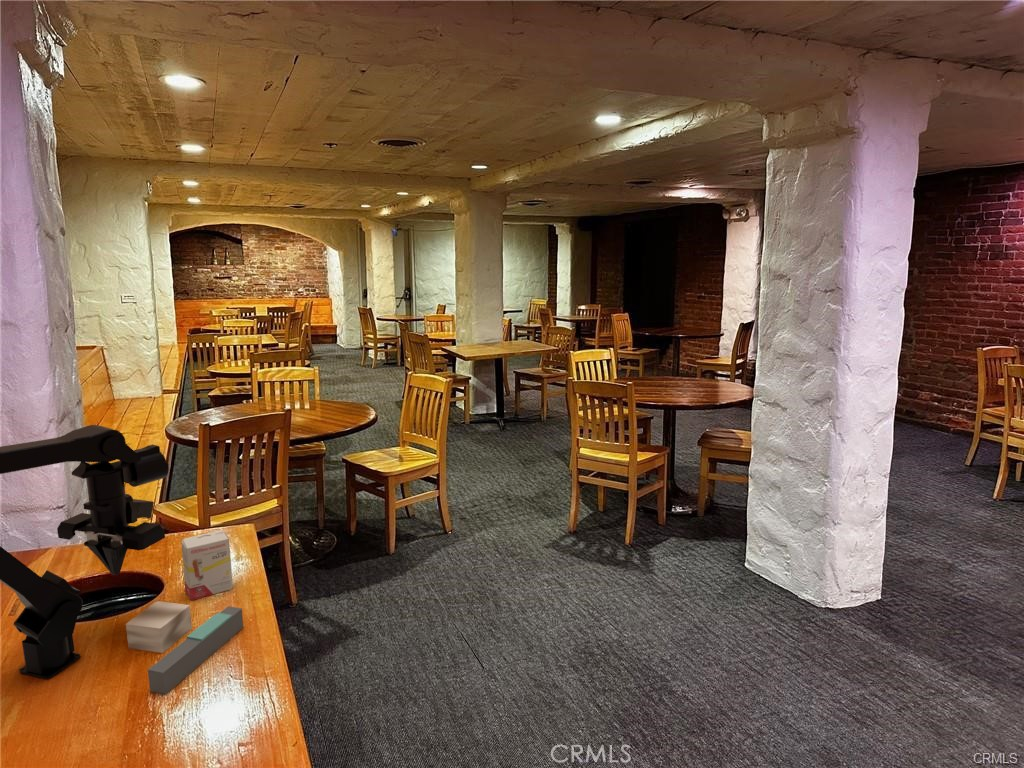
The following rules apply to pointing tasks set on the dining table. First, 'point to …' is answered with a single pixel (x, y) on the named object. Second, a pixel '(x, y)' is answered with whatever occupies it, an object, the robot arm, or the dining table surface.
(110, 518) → the robot arm
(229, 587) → the ink box
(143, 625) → the pale block
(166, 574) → the dining table surface
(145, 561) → the dining table surface
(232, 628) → the dark bar
